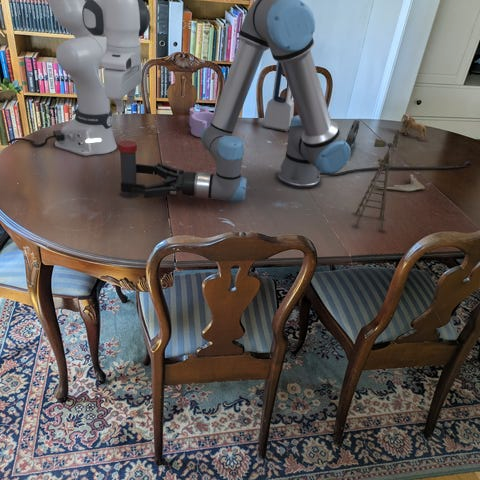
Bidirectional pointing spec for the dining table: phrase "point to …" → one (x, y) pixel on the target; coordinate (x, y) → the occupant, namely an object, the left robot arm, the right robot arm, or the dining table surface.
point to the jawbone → (414, 185)
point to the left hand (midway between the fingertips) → (126, 107)
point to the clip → (199, 120)
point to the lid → (127, 146)
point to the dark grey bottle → (128, 170)
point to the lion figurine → (413, 126)
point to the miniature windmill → (382, 163)
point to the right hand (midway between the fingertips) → (127, 177)
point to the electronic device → (279, 106)
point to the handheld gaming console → (353, 134)
